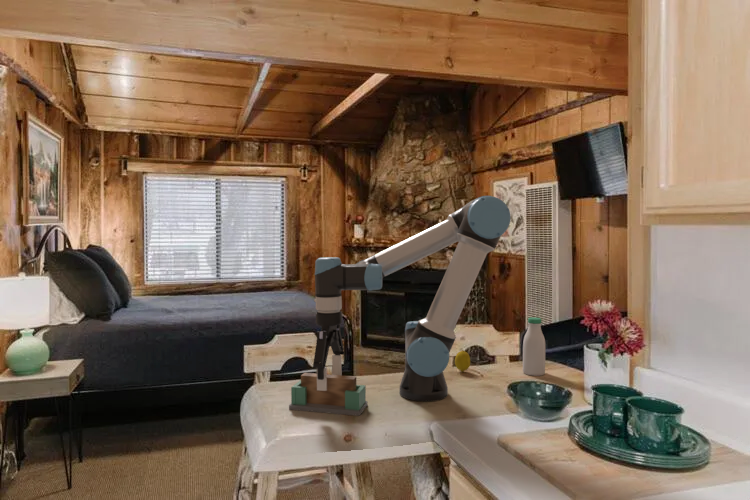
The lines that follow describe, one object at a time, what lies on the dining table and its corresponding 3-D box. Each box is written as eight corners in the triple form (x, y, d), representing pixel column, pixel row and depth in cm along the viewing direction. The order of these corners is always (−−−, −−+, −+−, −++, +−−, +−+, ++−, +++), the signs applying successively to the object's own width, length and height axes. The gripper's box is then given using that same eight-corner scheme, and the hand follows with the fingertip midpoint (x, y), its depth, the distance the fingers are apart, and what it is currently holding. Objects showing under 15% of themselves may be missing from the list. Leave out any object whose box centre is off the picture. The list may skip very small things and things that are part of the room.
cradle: (367, 405, 156) (367, 384, 156) (359, 415, 147) (359, 393, 147) (300, 399, 161) (300, 379, 161) (289, 409, 152) (289, 388, 152)
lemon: (451, 372, 191) (452, 350, 191) (460, 369, 195) (460, 347, 195) (464, 375, 188) (465, 352, 187) (473, 372, 192) (473, 350, 191)
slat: (356, 403, 154) (356, 376, 153) (353, 407, 151) (353, 379, 150) (304, 399, 158) (304, 372, 157) (301, 402, 155) (300, 375, 154)
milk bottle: (547, 376, 186) (548, 320, 185) (525, 376, 186) (526, 320, 186) (541, 370, 194) (542, 316, 193) (520, 370, 194) (521, 316, 193)
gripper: (330, 304, 166) (331, 370, 167) (300, 317, 142) (301, 395, 143) (353, 304, 164) (354, 372, 165) (326, 318, 140) (328, 397, 141)
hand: (329, 383), depth 154 cm, fingers open, 13 cm apart
